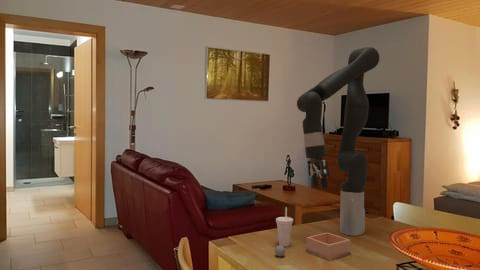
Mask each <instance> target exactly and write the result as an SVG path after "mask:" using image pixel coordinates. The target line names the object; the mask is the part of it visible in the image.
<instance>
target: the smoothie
mask: <svg viewBox="0 0 480 270" xmlns="http://www.w3.org/2000/svg"><path fill="white" fill-rule="evenodd" d="M284 215H285V216H279V217H276V218H275V222H276V227H277V228H276V229H277V236H278V244H279V245H281V246H283V247H284V246H285V247H289V246H290V242H291V235H292V229H293V228H292V227H293V223H294V218H292V217H290V216H288V207H287V206H286V207H285V213H284ZM279 245H278V246H279ZM285 247H284V248H285Z"/></svg>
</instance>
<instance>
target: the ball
mask: <svg viewBox="0 0 480 270" xmlns="http://www.w3.org/2000/svg"><path fill="white" fill-rule="evenodd" d="M274 253H275V255H276V256H278V257H283V256H285V254H286V248H285V247H284V246H281V245H277V246H276V247H275V248H274Z"/></svg>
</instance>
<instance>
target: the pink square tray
mask: <svg viewBox="0 0 480 270" xmlns="http://www.w3.org/2000/svg"><path fill="white" fill-rule="evenodd" d="M351 242H352V240H351V239H350V238H345V237H343V236H340V235H337V234H333V233H330V232H324V233H323V232H322V233H319V234H315V235H310V236H308V237H306V243H305V245H306V246H305V247H306V249H305V250H306V252H307V253H310V254H312V255H315V256H317V257H320V258H322V259H324V260H327V261H332V260H336V259H339V258H342V257H345V256H349V255H351V248H352V247H351V246H352V245H351V244H352V243H351Z"/></svg>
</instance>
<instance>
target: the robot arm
mask: <svg viewBox="0 0 480 270" xmlns="http://www.w3.org/2000/svg"><path fill="white" fill-rule="evenodd" d="M379 62H380V54H379V52H378V50H377V49H376V48H374V47H371V46H368V47H362V48H358V49H357V48H356V49H354V50H352V51H351V52H350V54H349V57H348V61H347V65H345V66H344V67H343V68H340V69H338V70H336V71H335V72H333V73H331V74H329V75H328V76H326V77H325V78H324V79H323V80H321V81H320V82H318V83H317V84H316V85H315V86H313V87H312V88H310V89H308V90H307V91H306V92H304V93H303V94H301V95H300V96H299V97H298V98H297V101H296V107H297V109H298V111H300V112H302V113H305V117H304V119H303V120H302V130H303V143H304V153H305V158H307V159H310V160H307V161H306V162H307V169H308V170H307V172H308V176H310V178H311V182H312V187H313V188H318V187H319V178H320V186H321V189H322V190H323V189H328V187H329V186H328V177H329V176H330V170H329V165H328V160H327V159H323V158H325V157H326V156H327V152H326V143H325V138H324V134H323V127H322V115H323V101H326V100H328V99H330V98H331V97H332V96H334V95H335V94H337V93H338V92H339V91H340V90H341V89H342V88H344V87H345V86H347V87H346V88H347V89H346V91H347V92H346V98H345V99H346V101H345V106H344V107H345V108H344V118H343V127H342V134H341V140H340V145H339V150H338V155H337V161H336V162H337V163H336V164H337V168H338V170H339V171H340V172H341V173H345V174H348V177H347V180H346V181H344V182H342V183H341V184H340V201H339V202H340V205H339V207H340V209H339V233H341V234H343V235H347V236H362V235H363V234H364V233H365V232H366V230H365V229H366V228H365V226H366V209H365V188H366V185H367V182H368V181H367V178H368V168H369V167H368V158H367V156H366V155H365V154H364V153H363V152H360V151H356V146H357V145H356V144H357V141H358V138H359V136H360V134H361V133H362V131H363V129H364V127H365V126H366V124H367V122H368V118H369V109H370V103H369V102H370V101H369V98H368V95H367V93H366V90H365V87H364V77H365V73H367V72H369V71H371V70H373V69H375V68H376V67H377V66H378V65H379ZM318 175H319V177H318Z"/></svg>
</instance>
